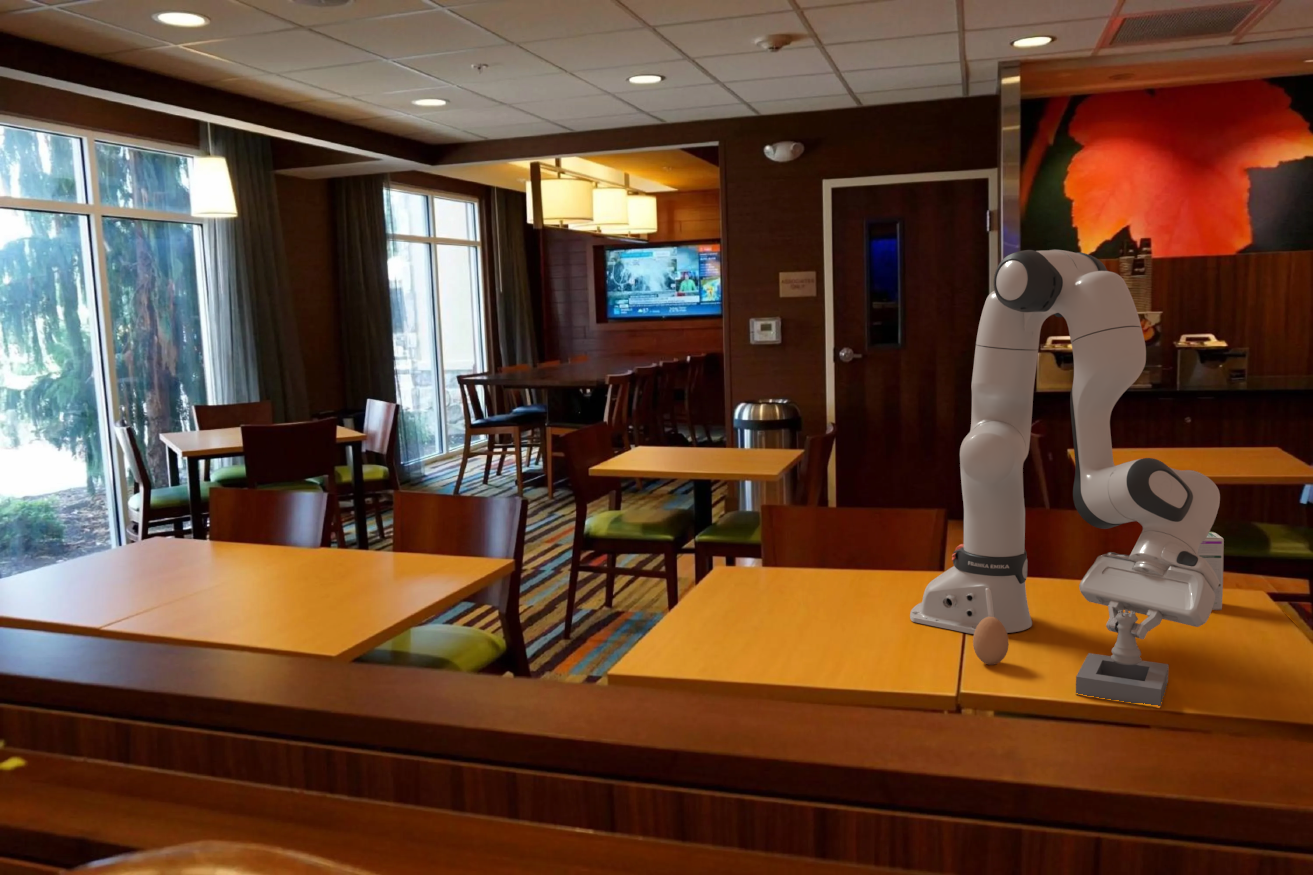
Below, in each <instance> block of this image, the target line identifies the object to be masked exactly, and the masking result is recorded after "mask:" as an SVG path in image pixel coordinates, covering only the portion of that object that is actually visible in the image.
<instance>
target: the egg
mask: <svg viewBox="0 0 1313 875" xmlns="http://www.w3.org/2000/svg"><path fill="white" fill-rule="evenodd" d="M972 646H973V649H974V653H975V655H976V657H977V658H978V659H979V660H980V661H981V662H982V663H984V664H986V665H988V666H995V665H998V664H999V663H1001V662H1003V660H1004V659H1005V657H1006V655H1007V653H1008V651H1009V635H1008V633H1007V632H1006V630H1005V627H1004V626H1003V624H1002V623H1001V622H1000V621H999V620H998V619H997V618H995V617H986V618H984V619H983V620H981V621H980V623H979V624H978V625H977V627H976V630H975V632H974V634H973V639H972Z"/></svg>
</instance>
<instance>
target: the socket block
mask: <svg viewBox="0 0 1313 875" xmlns="http://www.w3.org/2000/svg"><path fill="white" fill-rule="evenodd" d="M1111 656H1112V655H1105V654H1098V653H1097V654H1096V653H1092V652H1088V653H1087V655H1086V657H1085V658H1084V661H1083V663H1082V665H1081V667H1080V669H1079V670H1078V672H1077V675H1076V676H1075V678H1076V679H1075V694H1076V693H1078V694H1083V695H1087V696H1094V697H1099V698H1105V699H1111V700H1119V701H1124V702H1131V703H1143V704H1144V703H1145V704H1151V705H1158V706H1161V707H1162V704H1161V702H1162V703H1163V701H1162V699H1163V700H1164V698H1163V696H1164V697H1165V694H1166V691H1165V690H1167V687H1168V684H1169V664H1168V663H1161V662H1156V661H1148V660H1141V662H1140V663H1138V664H1136V665H1122V664H1118V663H1116V662H1114V661H1113V660H1112V658H1111ZM1167 683H1168V684H1167ZM1166 686H1167V687H1166ZM1164 693H1165V694H1164Z"/></svg>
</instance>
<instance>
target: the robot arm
mask: <svg viewBox="0 0 1313 875" xmlns="http://www.w3.org/2000/svg"><path fill="white" fill-rule="evenodd" d="M992 284H993V291H991V292H990V293H989V294H988V295H987V297H986V300H985V302H984V305H983V308H982V311H981V316H980V320H979V322H978V323H979V324H978V327H977V328H978V329H977V335H976V341H975V350H974V358H973V369H972V376H971V417H970V418H971V420H970V421H971V422H970V423H971V424H970V430H969V432H968V433H967V435H966V436H965V437H964V438H963V440H962V442H961V445H960V448H959V463H960V464H959V467H960V468H959V469H960V480H961V481H960V482H961V483H960V485H961V493H962V494H961V495H962V501H963V543H960V544H959V545H958V546H956V547H955V550H954V551H953V552H952V554H951V561H952V564H953V566H952V567H949V568H948V569H947V570H945V571H944V572H942V573H941V574H940V575H937V577H935V578H934V579H932V580H931V581H930V582H929V583H928V584H927V585H926V587H925V589H924V592H923V596H922V601H921V602H919V603H918V604H916V605H915V606H913V608H911V610H910V614H909V618H910V620H911V622H913V623H918V624H922V625H926V626H932V627H936V628H941V629H947V630H952V631H956V632H960V633H966V634H971V635H974V632H975V630H976V627H977V625H978V624H979V623H980V621H981V620H983V619H984V618H986V617H995V618H997V619H998V620H999V621H1000V622H1001V623H1002V624H1003V626H1004V627H1005V630H1006V632H1007V634H1008V633H1016V632H1022V631H1025V630H1027V629H1029V628H1031V627H1032V626H1033V621H1032V618H1031V613H1030V610H1029V609H1030V608H1029V605H1028V599H1027V589H1026V581H1027V577H1028V558H1027V556H1028V555H1027V551H1026V549H1025V540H1026V538H1025V537H1026V536H1025V533H1026V507H1025V497H1024V496H1025V495H1024V473H1023V472H1024V469H1023V468H1024V463H1025V461H1026V459H1027V458H1028V455H1029V451H1030V443H1031V433H1032V432H1031V431H1032V420H1033V418H1032V417H1033V404H1034V403H1033V401H1034V390H1035V382H1036V381H1035V379H1036V371H1037V364H1038V354H1039V348H1040V347H1039V346H1040V336H1041V329H1042V326H1043V324H1044V322H1045V321H1046V319H1048V318H1049V317H1051V316H1053V315H1054V316H1055V317H1057V318H1062V317H1063V318H1064V320H1065V322H1066V324H1067V328H1068V334H1069V339H1070V344H1071V345H1070V346H1071V348H1072V355H1073V382H1072V386H1071V390H1070V399H1069V402H1070V404H1069V405H1070V422H1071V430H1072V431H1071V432H1072V441H1073V452H1074V453H1073V454H1074V464H1075V465H1074V467H1075V471H1074V472H1075V473H1074V481H1073V487H1072V500H1073V504H1074V507H1075V509H1076V511H1077V513H1078V514H1079V516H1080V517H1081V518H1082V519H1083V520H1084V522H1086V523H1088V524H1089V525H1090V526H1092V527H1095V528H1097V529H1101V530H1102V529H1103V530H1107V529H1112V528H1114V527H1118V526H1120V525H1124V524H1127V523H1131V522H1138V523H1139V524H1140V525H1141V526H1142V531H1141V533H1140V535H1139V537H1138V538H1137V541H1136V543H1135V545H1134V547H1133V549H1132V551H1131V553H1130V554H1124V553H1123V554H1120V553H1116V552H1114V551H1113V552H1112V551H1110V552H1107V553H1104V554H1102V555H1098V556H1097V557H1096V559H1095V561H1094V563H1093V564H1092V565H1091V566H1090V568H1089V569H1088V570H1087V571H1086V573H1085V575H1084V576H1083V578H1081V581H1080V583H1079V584H1078V586H1079V591H1080V594H1081V595H1082V596H1083V597H1084V599H1085V600H1086V601H1087V602H1089V603H1094V604H1098V605H1102V606H1106V607H1108V609H1107V610H1108V615H1109V616H1108V617H1109V618H1108V621H1107V622H1106V624H1105V627H1106V628H1107V630H1108V631H1110V632H1113V633H1117V634H1118V628H1117V625H1118V624H1119V622H1118V621H1117V619H1116V618H1115V617H1116V616H1117V614H1118V611H1119V610H1123V611H1125V610H1128V612H1131V611H1134V612H1135V614H1140V615H1145V616H1147V617H1146V618H1145V619H1144V620H1143V621H1142V622H1140V623H1138V622H1135V624H1134V626H1133V627H1134V628H1132V630H1131V634H1132V635H1133V636H1134V637H1135V639H1136V638H1137V639H1139V640H1144V639H1146V636H1147V634H1148V632H1150V631H1151V630H1153V629H1155V628H1156V627H1157V626H1159V625H1160V624H1161V622H1162V620H1167V621H1170V622H1174V623H1179V624H1183V625H1187V626H1192V627H1195V628H1199V627H1201V626H1202V625H1204V624H1205V623H1207V621H1208V620H1209V617H1210V616H1211V613H1212V608H1213V605H1214V602H1215V593H1214V592H1213V591H1214V590H1216V589H1217V588H1218V586H1219V580H1218V578H1217V576H1216V574H1215V572H1214V571H1213V569H1212V568H1211V566H1210V565H1209V564H1208V562H1207V561H1206V560H1205V559H1204V558H1202V557H1200V556H1198V555H1197V554H1198V548H1199V545H1200V544H1201V543H1202V542H1203V541H1204V540H1205V539H1206V537H1207V535H1208V533H1209V532H1211V529H1212V527H1213V525H1214V523H1215V521H1216V517H1217V514H1218V511H1219V508H1220V501H1221V494H1220V490H1219V488H1218V486H1217V485H1216V483H1215V482H1214V481H1213V480H1212V479H1211V478H1210V477H1209V476H1207V475H1205V474H1203V473H1201V472H1199V471H1195V470H1192V469H1185V470H1183V469H1182V470H1180V469H1176V468H1172V467H1170V466H1168V465H1167V464H1166V463H1164V462H1163V461H1161V460H1159V459H1157V458H1152V457H1145V458H1138V459H1134V460H1131V461H1127V462H1123V463H1121V464H1117V465H1115V462H1114V456H1113V455H1114V454H1113V447H1112V446H1113V444H1112V436H1111V416H1112V411H1113V409H1114V407H1115V405H1116V404H1117V402H1118V401H1119V400H1120V398H1121V397H1122V396H1123V394H1124V393H1125V392H1126V391H1127V390H1128V389H1129V388H1130V387H1131V386H1132V385H1133V384H1134V383H1136V381H1137V379H1139V377H1140V376H1141V374H1142V372H1143V370H1144V369H1145V366H1146V361H1147V348H1146V342H1145V341H1146V340H1145V337H1144V332H1143V328H1142V325H1141V320H1140V316H1139V314H1138V313H1139V312H1138V310H1137V307H1136V305H1135V301H1134V299H1133V296H1132V294H1131V291H1130V289H1129V287H1128V285H1127V283H1126V281H1125V280H1124V278H1123V277H1122V276H1121V275H1119V273H1117V272H1113V271H1109V270H1108V269H1107V267H1106V265H1105V264H1104V263H1103V262H1102V261H1101V260H1100V259H1098V258H1097V257H1095V256H1093V255H1091V254H1088V253H1085V252H1073V251H1071V250H1070V251H1069V250H1062V249H1049V250H1048V249H1047V250H1033V249H1026V250H1020V251H1016V252H1012V253H1011V254H1008V255H1007V256H1004V258H1003V259H1002V260H1001V261H1000V262H999V264H998V266H997V267H996V269H995V272H994V276H993V283H992Z"/></svg>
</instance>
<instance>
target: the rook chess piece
mask: <svg viewBox="0 0 1313 875" xmlns="http://www.w3.org/2000/svg"><path fill="white" fill-rule="evenodd" d="M1115 618H1116V619H1117V621H1118V622H1119V624H1118V625H1117V628H1118V633H1117V639H1116V642H1115V644H1114V647H1112V648H1111V653H1112V655H1110V656H1111V658H1112V660H1113V661H1114V662H1116V663H1118V664H1122V665H1136V664H1138V663H1140V662H1141V661H1142V658H1141V657H1140V656H1142V653H1141V652H1142V651H1141V649H1140V648H1139V646H1138V645H1137V639H1136V637H1134V636H1133V635H1132V634H1131V630H1132V628H1134V627H1133V626H1134V624H1135V623H1137V622H1138V621H1139V618H1138V616H1137V615H1136V613H1135V612H1134V611H1128V610H1119V611H1118V614H1117V616H1116V617H1115Z"/></svg>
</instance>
